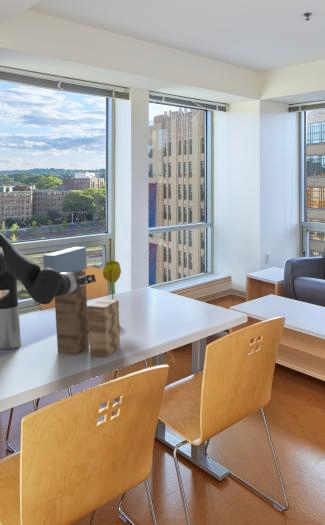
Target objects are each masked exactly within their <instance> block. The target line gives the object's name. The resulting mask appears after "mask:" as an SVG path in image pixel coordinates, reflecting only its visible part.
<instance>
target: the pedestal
mask: <svg viewBox="0 0 325 525" xmlns="http://www.w3.org/2000/svg"><path fill="white" fill-rule="evenodd" d="M86 273H87V272H86V271H85V270H82V271H80V272H77V273H74V274H76V275H77V276H78V277H79V276H85V277H86V276H87V275H86ZM81 285H82V284H81ZM87 298H88V296H87V285H85V286H81V287H80V288H79V290H78V291H77V292H76V293H74V294H72V295H66V296H55V297H54V308H55V310H54V312H55V323H56V324H55V325H56V342H57V343H56V344H57V353H60V354H67V355H73V356H78V355H79V354H81V353H83V352H84V351H85V350H87V349H90V339H89V332H88V317H87V306H88V299H87Z"/></svg>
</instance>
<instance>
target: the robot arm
mask: <svg viewBox="0 0 325 525" xmlns="http://www.w3.org/2000/svg"><path fill="white" fill-rule="evenodd" d="M0 248H1V249H2V251H0V291H8V293H6V294H5V295H3V296H1V297H0V350H14V349H16V348H19V347H20V346H21V345H22V342H21V340H22V338H21V328H20V325H21V324H20V313H19V301H18V300H19V299H18V281H19V282H20V283H22V286H23V287H24V288H25V291H26V292H27V293H28V295H29V296H30V297H31V299H32V300H33V301H35V302H36V303H38V304H39V305H49V304H51V303H52V302H53V300H55V296H66V295H72V294H74V293H76V292H77V291H78V290H79V288H80V287H81V286H85V285H86V286H87V285H88V284H89V285H90V284H92V283H96V281H97V280H96V276H95V274H87V275H86V277H85V276H79V277H78V276H77V275H76V274H74V273H71V272H63V273H59V272H57V271H56V270H54V269H52V268H44V267H43V269H41V267H40V265H39V264H37V263H36V262H35V261H33V260H32V259H30V258H29V257H28V256H26V255H25V254H24V253H23V252H21V251H20V250H19V249H18V248H17V247H16V246H15V245H14V244H13V243H12V242H11V241H10V240H9V239H8V238H7V237H6V236H4V234H2V233H1V232H0ZM81 284H82V285H81Z"/></svg>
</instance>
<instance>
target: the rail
mask: <svg viewBox="0 0 325 525" xmlns="http://www.w3.org/2000/svg"><path fill="white" fill-rule="evenodd" d="M42 258H43V259H42V260H43V269H44V268H52V269H54V270H56V271H57V272H59V273H63V272H71V273H77V272H80V271H85V270H87V269H88V266H87V247H86V246H73V247H69V248H65V249H61V250H57V251H53V252H50V253H46V254H43V255H42Z"/></svg>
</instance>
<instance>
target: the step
mask: <svg viewBox="0 0 325 525" xmlns="http://www.w3.org/2000/svg"><path fill="white" fill-rule="evenodd" d="M87 306H88V317H89V332H88V339H89V355H90V356H91V357H92V356H93V357H100V358H107V357H109V356H110V355H111V354H113V353H114V352H116V351H117V350H118V349H119V348H121V341H120V339H121V338H120V308H119V299H114V298H113V299H112V298H111V299H109V298H102V299H100V300H98V301H95V302H94V303H92V304H90V305H87Z"/></svg>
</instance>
